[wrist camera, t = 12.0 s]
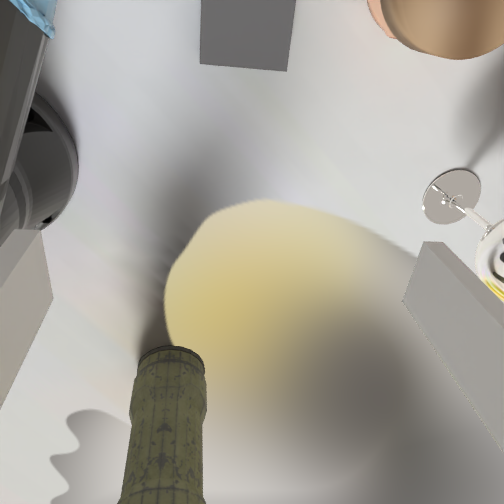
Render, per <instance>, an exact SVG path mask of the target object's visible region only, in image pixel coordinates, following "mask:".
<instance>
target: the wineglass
mask: <svg viewBox="0 0 504 504" xmlns="http://www.w3.org/2000/svg"><path fill="white" fill-rule="evenodd" d="M480 193H481V186H480V182H479V180H478V178H477V177H476V176H475V175H474V174H472V173H471V172H469V171H465V170H454V171H450V172H447V173H445V174H443V175H441V176H440V177H438V178H437V179H436V180H435V181H434V182H433V183H432V184H431V185H430V186H429V187H428V189H427V191H426V193H425V195H424V198H423V203H422V207H423V212H424V214H425V216H426V217H427V218H428V219H429V220H430V221H432V222H434V223H436V224H451V223H454V222H457V221H459V220H461V219H462V218H464V217H465V216H469V217H470V218H471V219H472V220H473V221H475V222H476V223H477V224H478V225H479V226H481V227H482V228H483V229H484V230H485V231H486V232H485V233H484V235H483V236H482V238H481V239H480V241H479V243H478V246H477V249H476V253H475V270H476V274H477V277H478V278H479V279H480V280H481V281H482V282H483V283H484V284H485V285H486V286H487V287H488V288H489V289H490V290H491V291H492V292H493V293H494V294H495V295H496V296H497V297H498V298H499V299H500V300H501V301H502V302H503V303H504V218H503V219H501V220H499V221H498V222H496V223H495V224H491V223H490V222H489V221H487V220H486V219H485V218H483V217H482V216H481V215H479V214H478V213H477V212H476V211H474V210H473V208H474V207H475V206H476V204H477V202H478V200H479V197H480Z"/></svg>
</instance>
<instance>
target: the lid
mask: <svg viewBox="0 0 504 504" xmlns="http://www.w3.org/2000/svg"><path fill="white" fill-rule="evenodd" d="M380 4H381V10H382V13H383V16H384V19H385V21H386V24H387V26H388V28H389V29H390V31H391V32H392V34H393V35H394V36H395V37H396V38H397V39H398V40H399V41H400V42H401V43H402V44H404V45H405V46H407V47H409V48H410V49H413V50H416V51H418V52H422V53H426V54H430V55H434V56H438V57H442V58H447V59H453V60H463V59H471V58H474V57H478V56H481V55H484V54H486V53H488V52H490V51H492V50H494V49H496V48H498V47H499V46H501V45H502V44H504V0H380Z"/></svg>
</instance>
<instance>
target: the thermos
mask: <svg viewBox="0 0 504 504" xmlns="http://www.w3.org/2000/svg"><path fill="white" fill-rule="evenodd" d="M204 374H205V368H204V364H203V361H202V359H201V358H200V356H199V355H198V354H196V353H195V352H193V351H192V350H190V349H187V348H184V347H180V346H164V347H159V348H156V349H154V350H151V351H149V352H148V353H147V354H146V355H144V356H143V357H142V359H141V360H140V362H139V364H138V370H137V376H136V378H135V379H134V385H133V391H132V397H131V403H130V410H129V416H130V420H131V424H132V428H131V434H130V441H129V448H128V454H127V461H126V467H125V473H124V480H123V486H122V493H121V498H120V500H119V501H118V503H117V504H206V502H205V500H204V498H203V463H202V424H203V421H204V419H205V415H206V411H207V402H206V401H207V399H206V381H205V377H204Z"/></svg>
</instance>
